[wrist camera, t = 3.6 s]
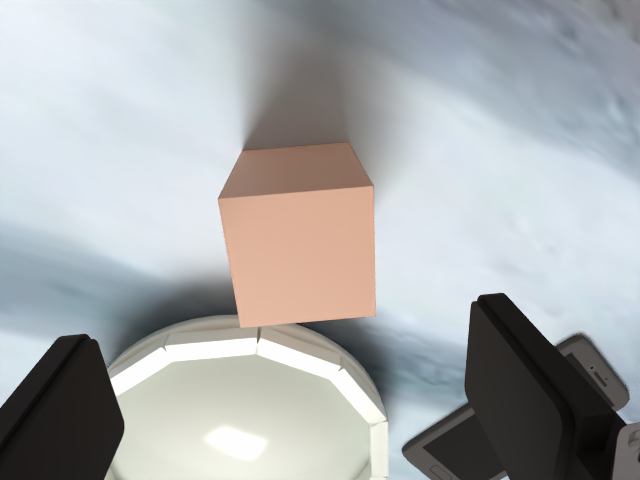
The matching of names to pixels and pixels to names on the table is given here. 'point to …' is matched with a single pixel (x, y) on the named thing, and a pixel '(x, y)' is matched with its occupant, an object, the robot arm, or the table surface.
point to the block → (300, 235)
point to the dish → (246, 406)
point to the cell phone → (471, 440)
